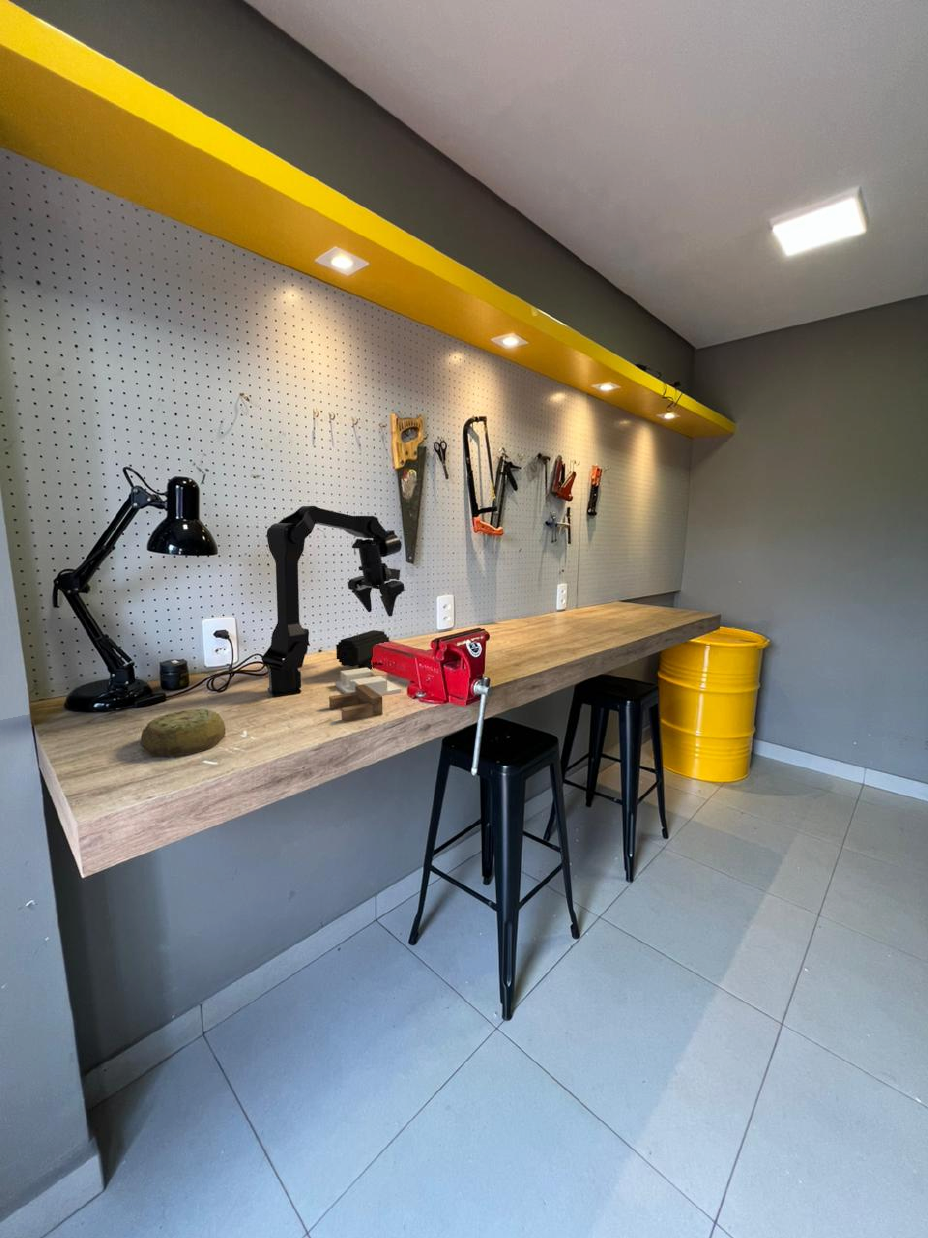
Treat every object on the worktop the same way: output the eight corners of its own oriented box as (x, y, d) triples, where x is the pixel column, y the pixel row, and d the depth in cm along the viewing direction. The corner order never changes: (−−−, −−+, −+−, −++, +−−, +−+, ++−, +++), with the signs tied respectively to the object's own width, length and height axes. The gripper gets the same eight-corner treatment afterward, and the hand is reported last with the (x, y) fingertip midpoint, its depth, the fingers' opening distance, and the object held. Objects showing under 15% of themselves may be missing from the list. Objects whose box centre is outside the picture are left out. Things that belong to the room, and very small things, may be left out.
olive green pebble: (167, 728, 96) (164, 704, 95) (237, 727, 97) (236, 703, 96) (125, 760, 83) (121, 732, 82) (207, 759, 84) (205, 731, 83)
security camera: (395, 663, 145) (394, 630, 143) (356, 680, 128) (355, 642, 126) (375, 660, 148) (375, 627, 146) (335, 676, 131) (334, 639, 129)
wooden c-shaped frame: (353, 700, 113) (353, 685, 112) (335, 685, 123) (334, 672, 123) (401, 692, 119) (401, 678, 118) (379, 678, 130) (379, 665, 129)
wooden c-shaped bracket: (345, 722, 100) (344, 703, 99) (329, 707, 108) (328, 690, 107) (382, 714, 104) (382, 696, 104) (364, 700, 113) (364, 684, 112)
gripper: (415, 556, 137) (422, 610, 142) (372, 552, 148) (380, 601, 154) (384, 566, 129) (393, 622, 134) (342, 561, 141) (351, 612, 146)
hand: (380, 614), depth 142 cm, fingers open, 9 cm apart
